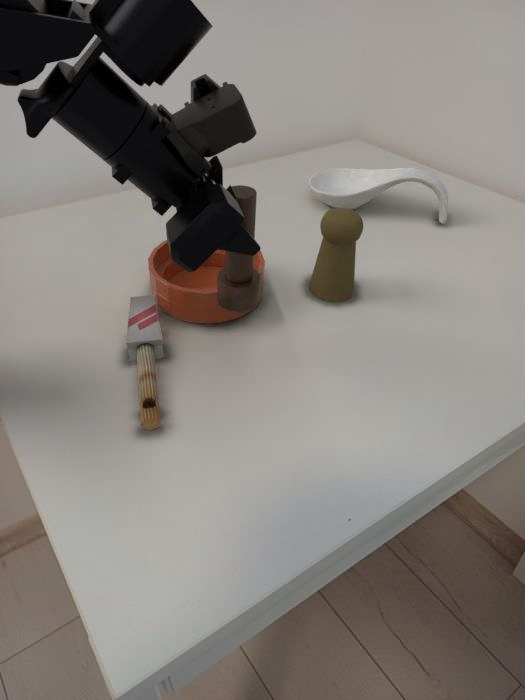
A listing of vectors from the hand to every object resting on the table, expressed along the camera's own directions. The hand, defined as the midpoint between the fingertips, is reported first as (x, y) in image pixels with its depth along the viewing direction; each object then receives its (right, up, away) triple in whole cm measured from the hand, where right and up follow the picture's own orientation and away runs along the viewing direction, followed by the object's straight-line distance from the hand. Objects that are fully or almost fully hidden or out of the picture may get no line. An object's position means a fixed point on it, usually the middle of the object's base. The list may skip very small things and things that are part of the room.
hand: (253, 243), depth 50 cm
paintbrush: (-12, -12, +6) cm, 18 cm away
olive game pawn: (+10, -2, +19) cm, 22 cm away
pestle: (-2, -5, +4) cm, 7 cm away
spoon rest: (+20, +14, +38) cm, 45 cm away
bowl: (-6, -3, +17) cm, 18 cm away
